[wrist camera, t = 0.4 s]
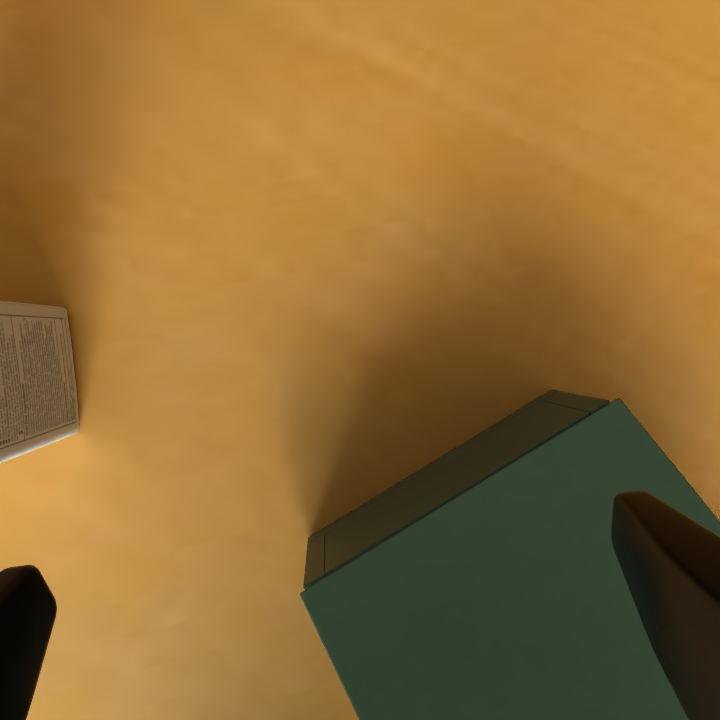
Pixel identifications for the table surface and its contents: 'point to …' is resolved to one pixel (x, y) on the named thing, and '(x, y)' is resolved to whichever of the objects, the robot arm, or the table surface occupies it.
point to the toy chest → (444, 480)
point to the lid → (511, 593)
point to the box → (35, 378)
